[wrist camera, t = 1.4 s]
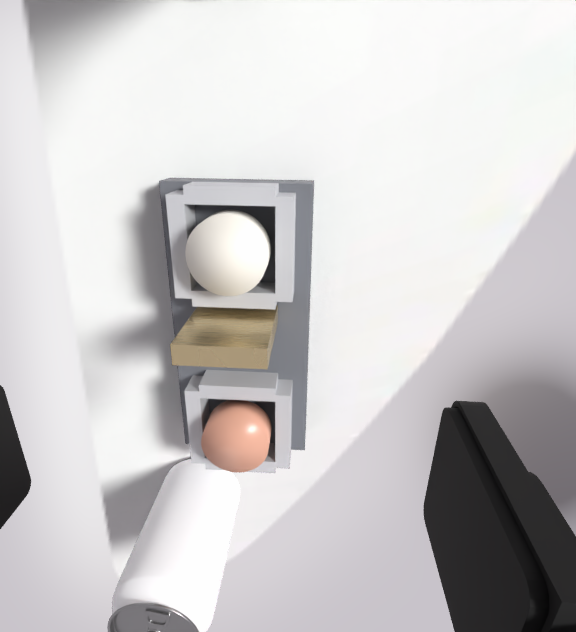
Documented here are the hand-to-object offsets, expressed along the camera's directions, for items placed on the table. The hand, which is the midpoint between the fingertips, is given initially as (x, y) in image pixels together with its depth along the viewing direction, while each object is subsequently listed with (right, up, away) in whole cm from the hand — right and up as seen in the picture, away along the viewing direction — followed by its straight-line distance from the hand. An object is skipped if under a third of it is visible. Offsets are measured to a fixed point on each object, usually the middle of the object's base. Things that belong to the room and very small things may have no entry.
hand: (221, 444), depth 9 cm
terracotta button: (-2, -5, +20) cm, 21 cm away
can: (-6, -12, +27) cm, 30 cm away
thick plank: (-2, +3, +18) cm, 19 cm away
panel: (-2, +3, +21) cm, 21 cm away
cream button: (-2, +7, +15) cm, 17 cm away
